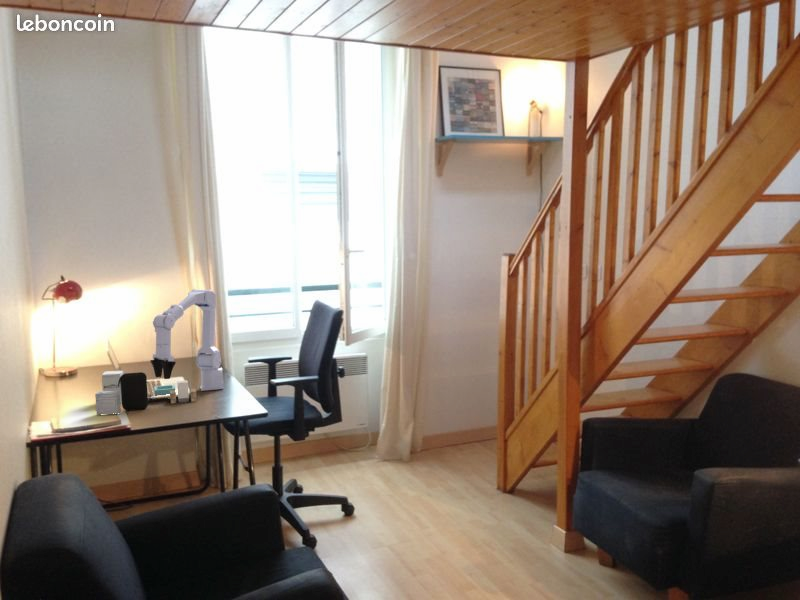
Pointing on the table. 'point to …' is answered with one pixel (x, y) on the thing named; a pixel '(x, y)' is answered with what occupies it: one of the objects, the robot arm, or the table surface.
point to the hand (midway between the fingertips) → (162, 377)
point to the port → (163, 389)
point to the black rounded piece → (134, 391)
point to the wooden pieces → (173, 395)
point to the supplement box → (112, 381)
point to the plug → (183, 391)
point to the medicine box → (108, 402)
